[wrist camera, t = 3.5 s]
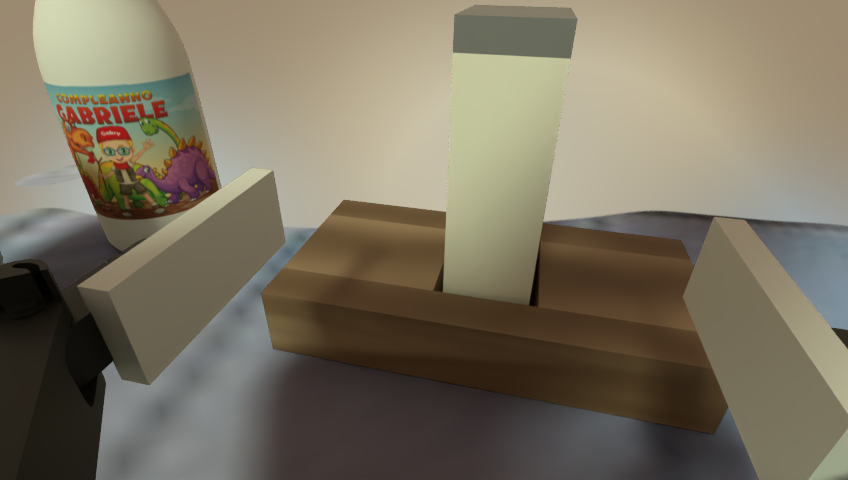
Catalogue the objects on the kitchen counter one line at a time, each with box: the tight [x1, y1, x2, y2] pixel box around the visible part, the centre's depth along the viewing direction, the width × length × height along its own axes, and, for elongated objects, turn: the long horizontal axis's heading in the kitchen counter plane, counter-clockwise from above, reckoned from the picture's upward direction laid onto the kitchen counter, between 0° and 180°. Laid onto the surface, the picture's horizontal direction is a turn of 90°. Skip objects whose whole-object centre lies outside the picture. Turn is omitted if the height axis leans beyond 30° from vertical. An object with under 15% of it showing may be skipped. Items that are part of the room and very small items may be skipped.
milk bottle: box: [33, 0, 221, 251], centre depth 27 cm, size 8×8×20 cm
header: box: [261, 200, 728, 434], centre depth 24 cm, size 10×20×4 cm, turn 77°
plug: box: [443, 5, 577, 306], centre depth 21 cm, size 5×4×15 cm
